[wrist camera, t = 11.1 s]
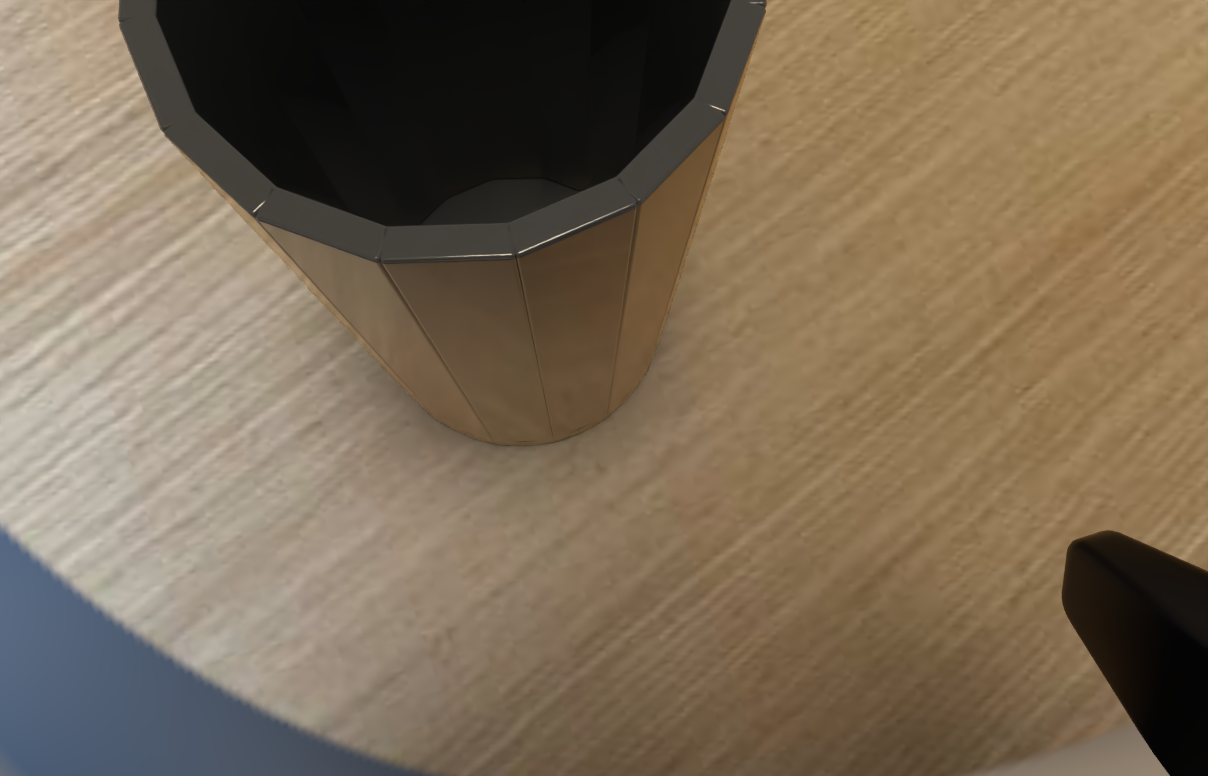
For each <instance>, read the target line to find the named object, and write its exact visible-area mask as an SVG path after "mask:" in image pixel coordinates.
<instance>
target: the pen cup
mask: <svg viewBox="0 0 1208 776" xmlns="http://www.w3.org/2000/svg"><path fill="white" fill-rule="evenodd" d="M766 5H767V1H766V0H119V14H118V20H119V22H120V23H119V26H120V30H121V32H122V35H123V37H124V40H125V42H126V45H127V47H128V50H129V52H130V55H131V57H132V60H133V62H134V65H135V67H136V70H137V72H138V75H139V77H140V80H141V82H142V85H143V87H144V90H145V92H146V95H147V97H148V100H149V102H150V105H151V107H152V110H153V112H154V115H155V117H156V120H157V122H158V124H159V127H160V129H161V130H162V132H163V133H164V134H165V137H166V138H167V139H168V140H169V141H170V142H171V143H172V144H173V145H174V146H175V147H176V148H177V149H178V150H179V151H180V153H181V154H182V155H183V156H184V157H185V158H186V159H187V160H188V161H189V162H190V163H191V164H192V165H193V166H194V167H195V169H196V170H197V171H198V172H199V173H200V174H201V175H202V176H203V177H204V178H205V179H206V180H207V181H208V182H209V183H210V184H211V186H212V187H213V188H214V189H215V190H216V191H217V192H218V193H219V194H220V195H221V196H222V197H223V198H224V199H225V200H226V202H227V203H228V204H229V205H230V206H231V207H232V208H233V209H234V210H235V211H236V212H237V213H238V214H239V215H240V216H241V217H242V219H243V220H244V221H245V222H246V223H247V224H248V225H249V226H250V227H251V228H252V229H253V230H254V231H255V232H256V233H257V234H258V236H259V237H260V238H261V239H262V240H263V241H264V242H265V243H266V244H267V245H268V246H269V247H270V248H271V249H272V250H273V252H274V253H275V254H276V255H277V256H278V257H279V258H280V259H281V260H282V261H283V262H284V263H285V264H286V265H287V266H288V267H289V269H290V270H291V271H292V272H293V273H294V274H295V275H296V276H297V277H298V278H299V279H300V280H301V281H302V282H303V283H304V285H305V286H306V287H307V288H308V289H309V290H310V291H311V292H312V293H313V294H314V295H315V296H316V297H317V298H318V299H319V300H320V302H321V303H322V304H323V305H324V306H325V307H326V308H327V309H328V310H329V311H330V312H331V313H332V314H333V315H334V316H335V318H336V319H337V320H338V321H339V322H340V323H341V324H342V325H343V326H344V327H345V328H346V329H347V330H348V331H349V332H350V333H351V335H352V336H353V337H354V338H355V339H356V340H357V341H358V342H359V343H360V344H361V345H362V346H363V347H364V348H365V349H366V350H367V352H368V353H369V354H370V355H371V356H372V357H373V358H374V359H375V360H376V361H377V362H378V363H379V364H380V365H381V366H382V368H383V369H384V370H385V371H386V372H387V373H388V374H389V375H390V376H391V377H392V378H393V379H394V380H395V381H396V382H397V383H398V384H399V385H400V386H401V387H402V388H403V389H404V390H405V391H406V392H407V393H408V394H409V395H410V396H411V397H412V398H413V399H415V400H416V401H417V402H418V403H419V404H420V406H421V407H422V408H423V409H425V410H426V411H427V412H428V413H429V414H431V415H432V416H433V417H434V418H435V419H436V420H437V421H439V422H440V423H443V424H445V425H446V426H448V427H450V428H451V429H453V430H455V431H457V432H460V433H462V434H464V435H466V436H469V437H471V438H475V439H478V440H481V441H485V442H488V443H495V444H501V445H509V446H530V445H540V444H547V443H551V442H555V441H559V440H563V439H566V438H569V437H571V436H574V435H577V434H579V433H582V432H583V431H585V430H587V429H589V428H591V427H593V426H595V425H596V424H598V423H600V422H601V421H602V420H604V419H605V418H606V417H608V416H609V415H611V414H612V413H613V412H614V411H615V410H616V409H617V408H619V407H620V406H621V405H622V404H623V403H624V402H625V401H626V400H627V399H628V397H629V396H630V395H631V394H632V393H633V391H634V390H635V389H636V388H637V386H638V385H639V383H640V382H641V380H642V378H643V377H644V376H645V375H646V373H647V372H648V370H649V367H650V364H651V361H652V359H653V356H654V354H655V351H656V348H657V345H658V342H659V340H660V337H661V334H662V331H663V329H664V326H665V323H666V320H667V317H668V314H669V311H670V308H671V305H672V301H673V298H674V295H675V292H676V289H677V286H678V283H679V280H680V277H681V273H682V270H683V267H684V264H685V261H686V258H687V255H688V252H689V249H690V246H691V242H692V239H693V236H694V233H695V230H696V227H697V224H698V221H699V218H700V215H701V211H702V208H703V205H704V202H705V199H706V196H707V193H708V190H709V187H710V183H711V180H712V177H713V174H714V171H715V168H716V165H717V162H718V159H719V156H720V152H721V149H722V146H723V143H724V140H725V137H726V134H727V131H728V128H729V124H730V121H731V118H732V115H733V112H734V109H735V106H736V103H737V100H738V97H739V93H740V90H741V87H742V84H743V81H744V78H745V75H746V72H747V69H748V65H749V62H750V59H751V56H752V53H753V50H754V47H755V44H756V41H757V38H758V34H759V31H760V28H761V25H762V22H763V19H764V16H765V13H766V9H765V8H766Z"/></svg>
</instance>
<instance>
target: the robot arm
mask: <svg viewBox="0 0 1208 776" xmlns="http://www.w3.org/2000/svg"><path fill="white" fill-rule="evenodd" d="M1062 602H1063V607H1064V610H1065V612H1066V615H1067V617H1068V619H1069V620H1070V622H1071V624H1072V625H1073V627H1074V629H1075V630H1076V632H1077V633H1078V635H1079V637H1080V638H1081V640H1082V641H1083V643H1084V645H1085V646H1086V648H1087V649H1088V651H1089V653H1090V654H1091V656H1092V657H1093V659H1094V660H1095V662H1096V664H1097V665H1098V667H1099V668H1100V670H1101V672H1102V673H1103V675H1104V676H1105V678H1106V680H1107V681H1108V683H1109V684H1110V686H1111V688H1112V689H1113V691H1114V692H1115V694H1116V696H1117V697H1118V699H1119V700H1120V702H1121V704H1122V705H1123V707H1124V708H1125V710H1126V712H1127V713H1128V715H1129V716H1130V718H1131V720H1132V721H1133V723H1134V724H1135V726H1136V727H1137V729H1138V731H1139V732H1140V734H1141V735H1142V737H1143V738H1144V740H1145V741H1146V743H1147V744H1148V746H1149V747H1150V749H1151V750H1152V752H1153V753H1154V755H1155V756H1156V757H1157V759H1158V760H1159V761H1160V763H1161V764H1162V765H1163V767H1164V768H1165V769H1166V771H1167V772H1168V773H1169V775H1170V776H1208V571H1206V570H1204V569H1201V568H1199V567H1197V566H1195V565H1192V564H1190V563H1188V562H1185V561H1183V560H1181V559H1179V558H1176V557H1174V556H1172V555H1169V554H1167V553H1165V552H1163V551H1160V550H1158V549H1156V548H1153V547H1151V546H1149V545H1147V544H1144V543H1142V542H1140V541H1138V540H1135V539H1133V538H1131V537H1128V536H1126V535H1124V534H1121V533H1119V532H1115V531H1108V530H1106V531H1101V532H1097V533H1094V534H1091V535H1088V536H1085V537H1082V538H1079V539H1076V540H1074V541H1072V543H1071V544H1070V545H1069V547H1068V550H1067V555H1066V563H1065V571H1064V579H1063V587H1062Z"/></svg>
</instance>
